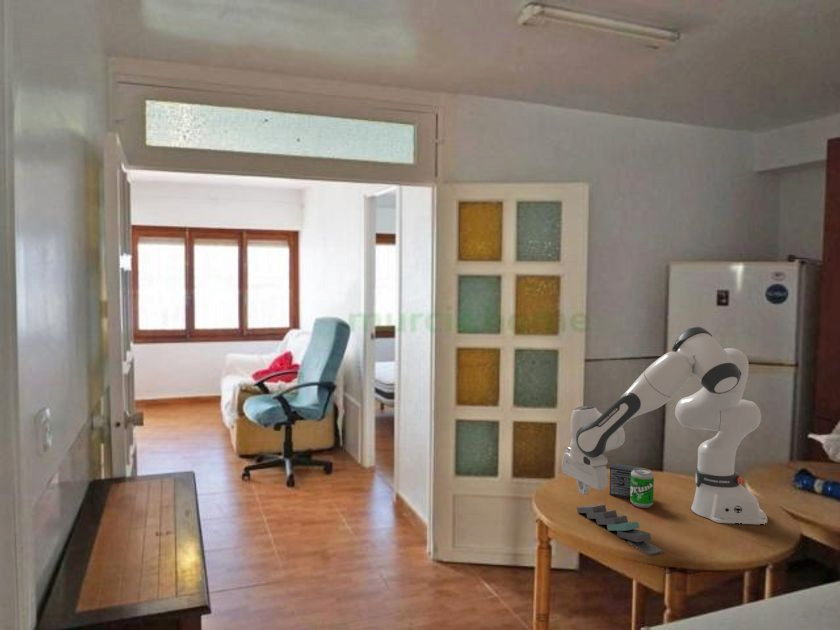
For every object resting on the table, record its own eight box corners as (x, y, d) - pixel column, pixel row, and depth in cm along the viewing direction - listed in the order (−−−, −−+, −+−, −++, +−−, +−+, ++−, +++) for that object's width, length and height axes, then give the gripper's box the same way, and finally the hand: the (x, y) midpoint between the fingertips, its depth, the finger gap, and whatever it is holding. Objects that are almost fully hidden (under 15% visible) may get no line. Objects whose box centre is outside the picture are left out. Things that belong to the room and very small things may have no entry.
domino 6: (627, 540, 180) (649, 553, 172) (641, 537, 182) (663, 550, 173) (627, 546, 180) (649, 559, 172) (640, 543, 182) (662, 556, 173)
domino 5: (616, 530, 184) (636, 535, 176) (630, 528, 186) (650, 533, 178) (617, 536, 184) (637, 542, 176) (630, 534, 186) (651, 539, 178)
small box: (643, 495, 218) (643, 466, 218) (639, 500, 213) (639, 471, 212) (613, 489, 224) (614, 462, 223) (608, 495, 218) (609, 466, 218)
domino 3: (595, 518, 194) (613, 518, 186) (608, 516, 195) (626, 515, 187) (597, 524, 193) (615, 524, 185) (609, 521, 195) (627, 521, 187)
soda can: (631, 499, 214) (632, 466, 213) (654, 502, 211) (654, 469, 210) (628, 506, 207) (629, 472, 207) (652, 510, 204) (652, 475, 203)
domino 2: (586, 513, 198) (603, 512, 190) (598, 510, 200) (615, 510, 192) (587, 518, 197) (604, 518, 190) (599, 516, 199) (617, 516, 191)
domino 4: (606, 524, 189) (624, 524, 181) (619, 522, 191) (638, 521, 183) (607, 530, 188) (626, 530, 180) (620, 528, 190) (639, 527, 182)
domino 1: (576, 507, 203) (592, 507, 195) (588, 505, 205) (605, 504, 197) (577, 513, 202) (593, 512, 194) (590, 510, 204) (606, 510, 196)
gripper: (557, 446, 211) (557, 485, 212) (595, 463, 192) (594, 505, 193) (572, 444, 213) (572, 482, 214) (611, 460, 194) (610, 502, 195)
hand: (583, 493), depth 203 cm, fingers closed
